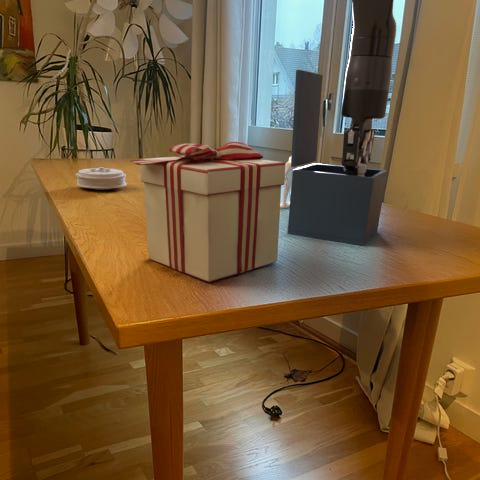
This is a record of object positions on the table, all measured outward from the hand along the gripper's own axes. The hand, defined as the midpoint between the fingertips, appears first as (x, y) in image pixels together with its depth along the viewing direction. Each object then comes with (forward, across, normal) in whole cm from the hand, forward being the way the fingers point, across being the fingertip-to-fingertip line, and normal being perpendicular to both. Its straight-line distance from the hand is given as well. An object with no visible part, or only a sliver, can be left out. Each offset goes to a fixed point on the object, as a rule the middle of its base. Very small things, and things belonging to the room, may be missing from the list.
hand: (352, 188), depth 88 cm
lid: (+9, +9, +68) cm, 69 cm away
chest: (+9, 0, +3) cm, 9 cm away
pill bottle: (+5, 0, 0) cm, 5 cm away
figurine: (+9, +18, +19) cm, 27 cm away
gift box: (+9, -29, +15) cm, 34 cm away
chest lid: (-11, 0, +10) cm, 15 cm away
